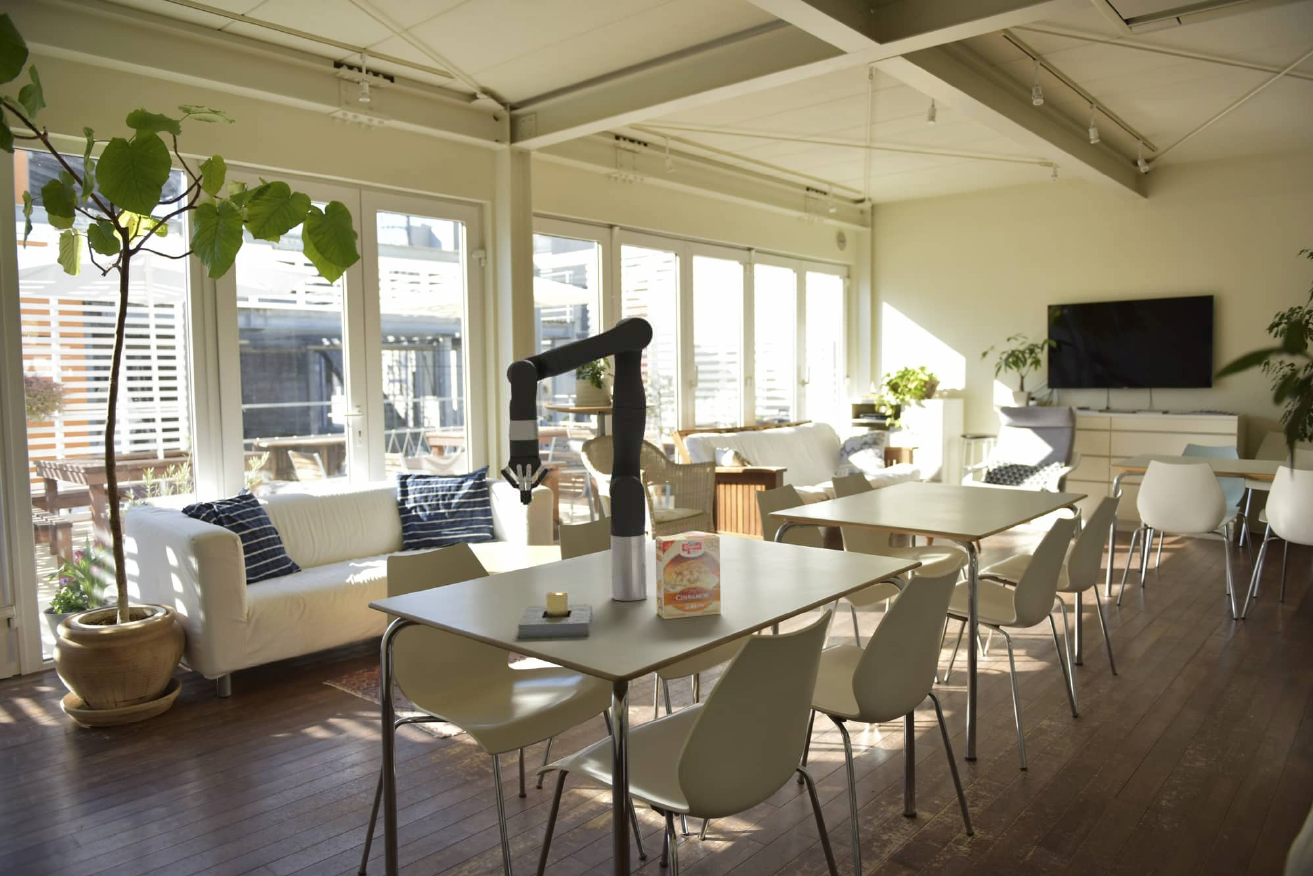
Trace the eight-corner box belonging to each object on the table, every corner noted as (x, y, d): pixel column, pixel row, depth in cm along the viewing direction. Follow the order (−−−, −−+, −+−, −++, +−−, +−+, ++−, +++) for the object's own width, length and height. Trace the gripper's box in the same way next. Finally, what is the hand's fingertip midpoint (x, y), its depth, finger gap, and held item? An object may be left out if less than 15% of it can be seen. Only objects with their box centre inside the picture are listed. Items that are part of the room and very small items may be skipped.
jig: (592, 616, 230) (592, 604, 230) (588, 635, 212) (588, 623, 212) (528, 618, 229) (527, 606, 229) (518, 637, 211) (518, 625, 211)
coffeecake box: (664, 619, 225) (662, 540, 223) (656, 613, 231) (654, 536, 230) (722, 614, 229) (720, 536, 228) (712, 607, 236) (710, 532, 234)
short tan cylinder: (568, 623, 223) (567, 591, 223) (567, 629, 218) (566, 595, 218) (548, 624, 223) (547, 591, 223) (546, 629, 218) (545, 596, 218)
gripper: (551, 436, 242) (553, 502, 243) (500, 437, 241) (502, 503, 242) (548, 438, 234) (550, 505, 235) (496, 439, 234) (498, 507, 235)
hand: (526, 504), depth 239 cm, fingers closed
